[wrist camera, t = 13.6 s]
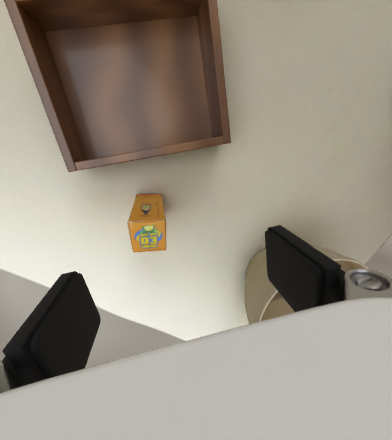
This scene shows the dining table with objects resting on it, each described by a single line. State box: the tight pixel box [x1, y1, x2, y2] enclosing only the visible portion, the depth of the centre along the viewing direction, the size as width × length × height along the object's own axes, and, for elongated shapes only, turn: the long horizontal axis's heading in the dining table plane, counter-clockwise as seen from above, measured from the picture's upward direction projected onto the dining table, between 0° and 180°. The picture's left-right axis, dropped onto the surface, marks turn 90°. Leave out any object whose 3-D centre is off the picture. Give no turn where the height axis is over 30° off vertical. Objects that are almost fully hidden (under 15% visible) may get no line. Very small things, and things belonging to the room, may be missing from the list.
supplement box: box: [128, 194, 166, 252], centre depth 23 cm, size 3×3×10 cm
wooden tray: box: [4, 0, 231, 172], centre depth 21 cm, size 17×14×5 cm
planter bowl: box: [245, 246, 369, 324], centre depth 30 cm, size 16×16×11 cm
